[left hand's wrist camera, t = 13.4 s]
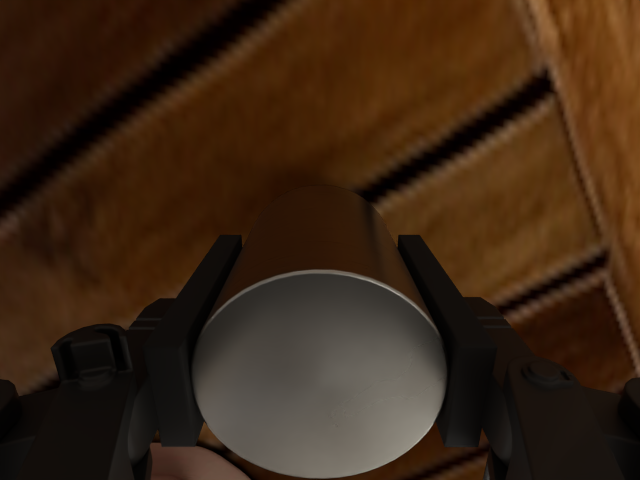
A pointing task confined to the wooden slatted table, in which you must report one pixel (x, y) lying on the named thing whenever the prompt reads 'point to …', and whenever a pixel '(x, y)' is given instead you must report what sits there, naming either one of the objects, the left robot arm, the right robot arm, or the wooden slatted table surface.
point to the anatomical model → (191, 464)
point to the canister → (319, 343)
